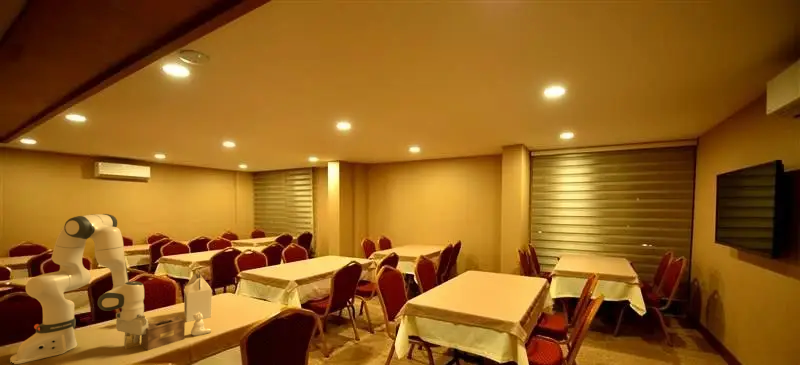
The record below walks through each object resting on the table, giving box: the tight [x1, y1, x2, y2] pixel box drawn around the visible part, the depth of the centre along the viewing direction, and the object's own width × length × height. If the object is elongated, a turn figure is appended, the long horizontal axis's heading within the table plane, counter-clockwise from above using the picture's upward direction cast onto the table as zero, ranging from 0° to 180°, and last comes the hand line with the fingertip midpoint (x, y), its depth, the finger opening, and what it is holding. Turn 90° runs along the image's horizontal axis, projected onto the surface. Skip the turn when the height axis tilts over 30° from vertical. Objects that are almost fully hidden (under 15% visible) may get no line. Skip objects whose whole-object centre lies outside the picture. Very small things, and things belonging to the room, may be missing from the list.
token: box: [123, 334, 141, 350], centre depth 167 cm, size 6×3×6 cm, turn 144°
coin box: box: [140, 315, 186, 351], centre depth 171 cm, size 16×10×10 cm, turn 144°
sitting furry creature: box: [190, 312, 212, 337], centre depth 182 cm, size 10×9×12 cm
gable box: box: [183, 269, 213, 323], centre depth 214 cm, size 22×13×28 cm, turn 37°
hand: (132, 341), depth 167 cm, fingers closed on token, 3 cm apart
